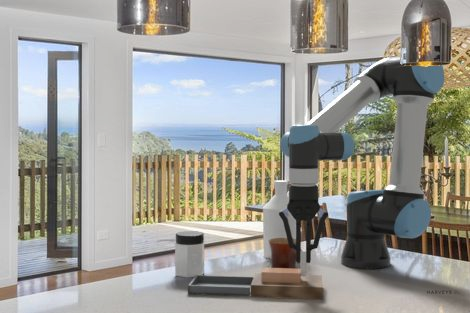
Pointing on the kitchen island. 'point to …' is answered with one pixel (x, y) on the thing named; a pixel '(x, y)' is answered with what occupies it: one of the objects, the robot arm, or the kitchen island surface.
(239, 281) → the tray
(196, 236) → the jar
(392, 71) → the robot arm
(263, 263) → the kitchen island surface
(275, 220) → the bottle
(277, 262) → the mug
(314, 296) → the board
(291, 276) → the tile
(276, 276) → the tile
